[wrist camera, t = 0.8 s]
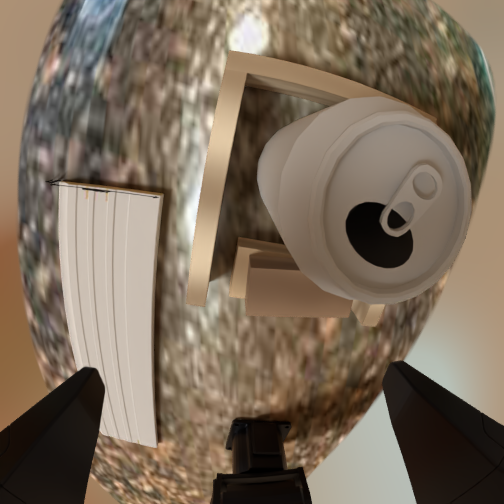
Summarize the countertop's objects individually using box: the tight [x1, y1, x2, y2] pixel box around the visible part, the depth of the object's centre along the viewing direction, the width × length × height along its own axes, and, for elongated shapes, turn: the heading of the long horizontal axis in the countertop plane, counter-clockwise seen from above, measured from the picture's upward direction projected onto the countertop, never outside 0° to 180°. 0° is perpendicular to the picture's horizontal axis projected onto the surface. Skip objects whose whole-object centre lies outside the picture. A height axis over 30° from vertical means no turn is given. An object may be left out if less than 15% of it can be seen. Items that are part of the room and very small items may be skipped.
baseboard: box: [45, 180, 164, 448], centre depth 22 cm, size 30×3×10 cm
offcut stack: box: [229, 237, 353, 317], centre depth 19 cm, size 4×8×4 cm, turn 79°
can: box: [257, 96, 471, 305], centre depth 13 cm, size 8×8×12 cm
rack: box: [186, 50, 437, 326], centre depth 18 cm, size 15×13×4 cm
